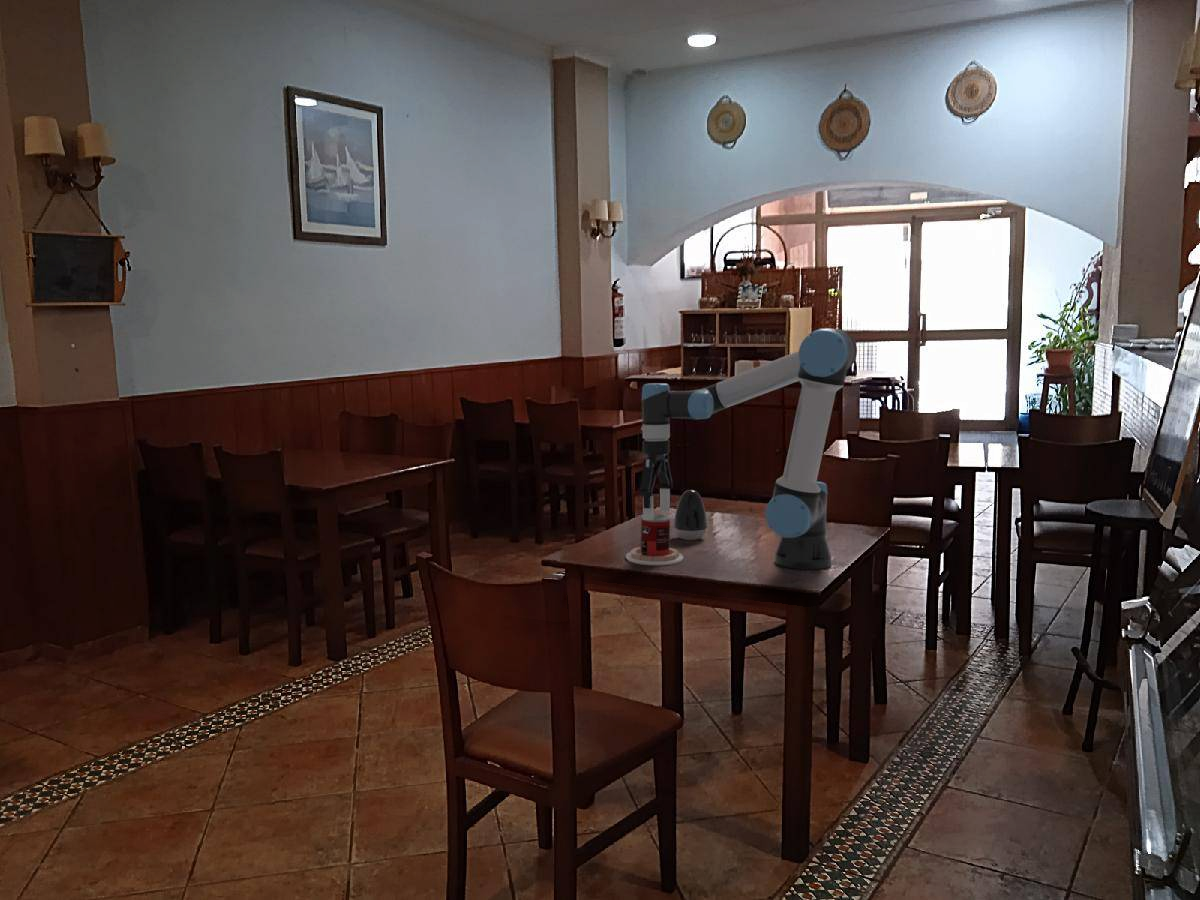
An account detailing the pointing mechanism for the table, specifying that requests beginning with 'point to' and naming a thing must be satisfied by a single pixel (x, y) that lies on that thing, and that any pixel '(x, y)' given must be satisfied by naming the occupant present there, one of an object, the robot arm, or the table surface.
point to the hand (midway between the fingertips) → (656, 515)
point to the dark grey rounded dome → (690, 516)
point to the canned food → (655, 536)
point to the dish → (654, 558)
